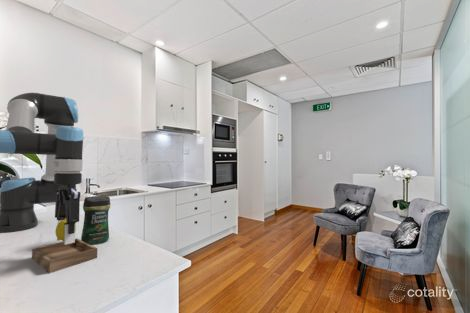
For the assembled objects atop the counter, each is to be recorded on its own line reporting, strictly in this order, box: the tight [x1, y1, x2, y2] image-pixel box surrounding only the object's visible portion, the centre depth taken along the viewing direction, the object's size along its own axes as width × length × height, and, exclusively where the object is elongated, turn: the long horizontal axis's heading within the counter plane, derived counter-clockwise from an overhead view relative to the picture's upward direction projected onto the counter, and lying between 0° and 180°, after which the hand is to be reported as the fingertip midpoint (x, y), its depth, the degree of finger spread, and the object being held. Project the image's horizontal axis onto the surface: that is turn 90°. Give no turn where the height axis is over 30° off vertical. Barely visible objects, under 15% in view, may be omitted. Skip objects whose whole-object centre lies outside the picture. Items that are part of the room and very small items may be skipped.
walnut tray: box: [31, 238, 98, 274], centre depth 75 cm, size 16×13×3 cm
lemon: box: [55, 218, 77, 242], centre depth 75 cm, size 6×6×8 cm
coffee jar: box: [80, 195, 111, 246], centre depth 91 cm, size 10×8×19 cm
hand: (65, 241), depth 75 cm, fingers closed on lemon, 5 cm apart
